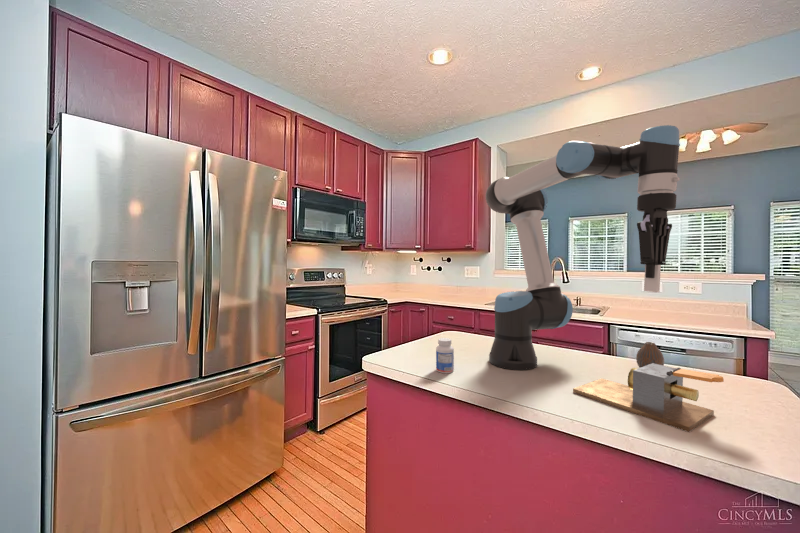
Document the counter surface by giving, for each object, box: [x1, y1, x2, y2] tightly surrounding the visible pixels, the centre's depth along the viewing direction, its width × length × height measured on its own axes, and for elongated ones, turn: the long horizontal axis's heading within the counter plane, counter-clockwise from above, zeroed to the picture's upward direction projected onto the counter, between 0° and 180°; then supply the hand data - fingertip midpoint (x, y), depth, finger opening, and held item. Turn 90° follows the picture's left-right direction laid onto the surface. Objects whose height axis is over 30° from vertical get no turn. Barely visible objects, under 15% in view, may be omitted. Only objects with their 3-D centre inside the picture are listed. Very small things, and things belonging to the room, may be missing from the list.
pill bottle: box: [435, 337, 455, 374], centre depth 106 cm, size 6×5×10 cm
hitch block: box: [572, 363, 715, 433], centre depth 82 cm, size 24×14×10 cm, turn 32°
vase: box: [635, 341, 665, 368], centre depth 105 cm, size 7×7×9 cm
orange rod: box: [673, 368, 724, 383], centre depth 72 cm, size 8×4×1 cm, turn 32°
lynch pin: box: [627, 367, 700, 402], centre depth 78 cm, size 12×5×5 cm, turn 32°
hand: (651, 291), depth 84 cm, fingers closed
